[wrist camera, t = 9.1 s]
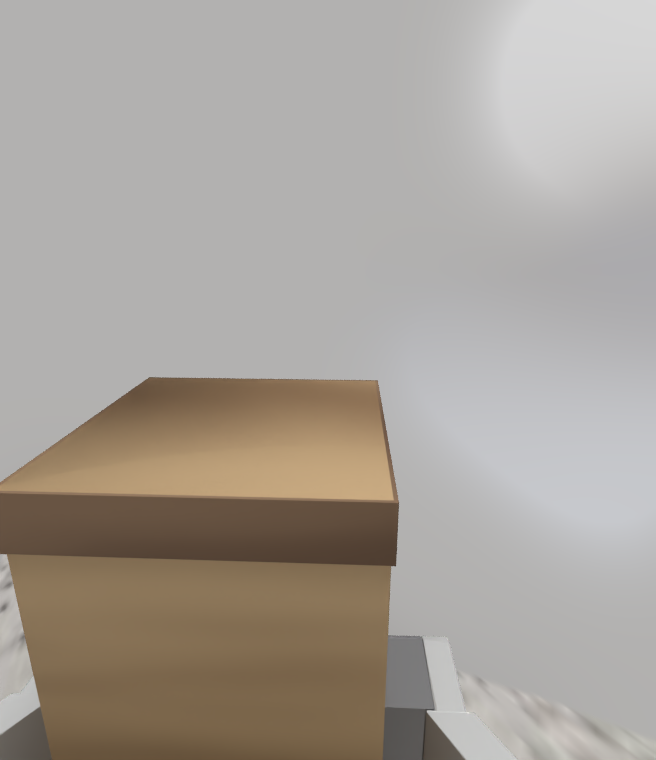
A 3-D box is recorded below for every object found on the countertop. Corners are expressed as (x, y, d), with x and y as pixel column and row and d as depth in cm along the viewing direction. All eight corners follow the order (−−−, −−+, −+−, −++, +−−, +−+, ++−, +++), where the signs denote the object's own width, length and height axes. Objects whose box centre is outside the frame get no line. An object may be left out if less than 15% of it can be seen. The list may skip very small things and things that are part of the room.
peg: (371, 1100, 9) (398, 502, 5) (117, 1081, 9) (-15, 492, 5) (364, 809, 13) (377, 380, 10) (195, 800, 13) (148, 377, 10)
